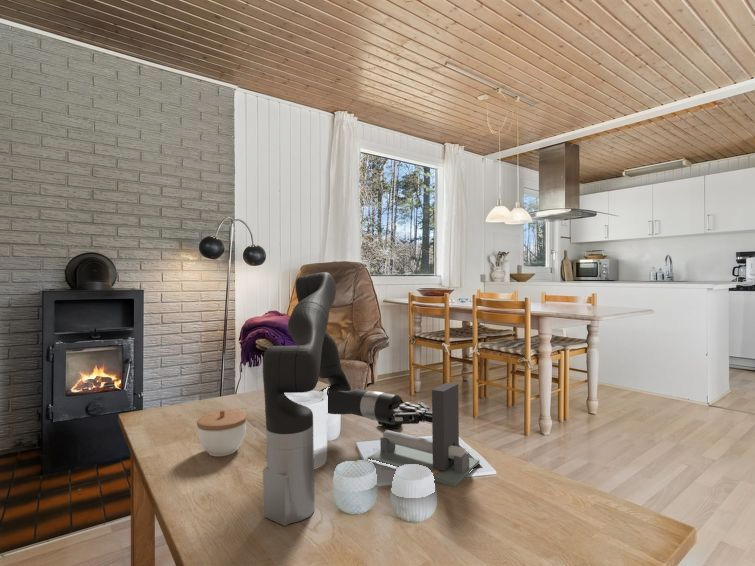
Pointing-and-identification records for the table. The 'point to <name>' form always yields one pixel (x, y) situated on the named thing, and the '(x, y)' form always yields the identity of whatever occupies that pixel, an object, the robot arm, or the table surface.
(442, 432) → the dark grey upright pillar
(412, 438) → the pipe stand
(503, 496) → the table surface
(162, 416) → the table surface
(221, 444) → the lidded bowl
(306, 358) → the robot arm
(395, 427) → the tape measure
